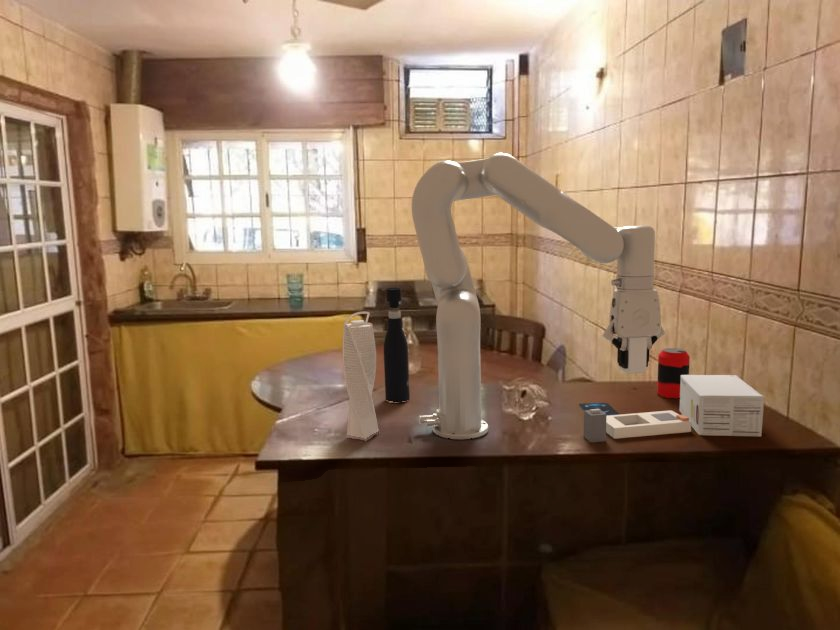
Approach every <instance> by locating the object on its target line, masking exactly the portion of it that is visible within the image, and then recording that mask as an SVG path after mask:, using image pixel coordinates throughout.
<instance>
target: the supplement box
mask: <svg viewBox="0 0 840 630" xmlns="http://www.w3.org/2000/svg"><path fill="white" fill-rule="evenodd" d="M764 400H765V396H764V395H763V394H761V393H760V392H758V391H757V390H756V389H754V388H753V387H752V386H751V385H749V384H748V383H746V382H745V381H744V380H743V379H741V378H740V376H738V375H736V374H734V375H733V374H689V375H681V380H680V399H679V412H680V413H681V415H685V416H686V417H688V418H689V420H690V421H691V428H692V429H693V430H695V432H696V433H697V434H698V435H699V436H722V437H723V436H727V437H728V436H729V437H730V436H731V437H762V434H763V432H762V431H763V418H764V407H765V406H764V404H765V401H764Z"/></svg>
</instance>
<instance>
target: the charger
mask: <svg viewBox="0 0 840 630" xmlns="http://www.w3.org/2000/svg"><path fill="white" fill-rule="evenodd" d="M626 350H627V351H628V368H627V369H624V368H622V367H620V366H619V367H620V368H619V369H620V371H622V372H624V373H626V374H628V375H632V374H633V375H636V374H646V373H647V367H646V358H647V336H646V337H631V338H628V342H627V347H626Z"/></svg>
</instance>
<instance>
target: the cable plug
mask: <svg viewBox="0 0 840 630" xmlns="http://www.w3.org/2000/svg"><path fill="white" fill-rule="evenodd" d="M583 416H584V417H583V438H584V439H586V440H587V441H588V442H589V443H598V442H599V443H601V442H607V433H606V414H605V413H604V412H603V411H601V410H600V409H590V410H584V411H583Z"/></svg>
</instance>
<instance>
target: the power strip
mask: <svg viewBox="0 0 840 630" xmlns="http://www.w3.org/2000/svg"><path fill="white" fill-rule="evenodd" d="M690 432H691V433H692V426H691V421H690V420H689V418H688V417H686V416H685V415H682V414H679V413H677V412H676V411H674V410H661V411H660V410H659V411H649V412H637V413H635V412H634V413H625V414H620V415H610V416H606V435H608V436H610V437H611V438H612V439H614V440H615V439H626V438H637V437H647V436H649V437H650V436H658V435H659V436H660V435H669V434H681V433H690Z"/></svg>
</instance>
